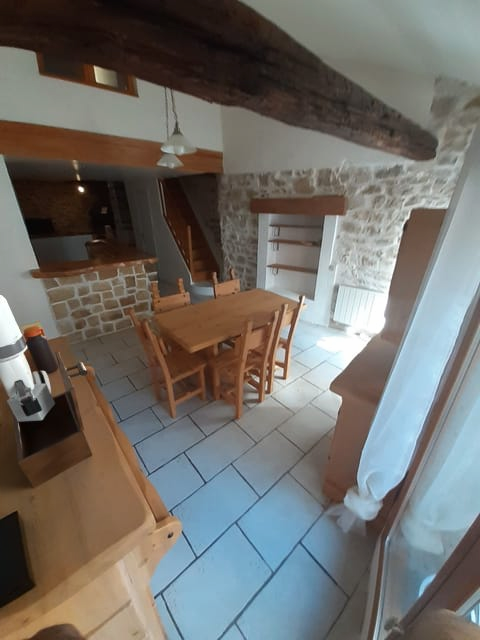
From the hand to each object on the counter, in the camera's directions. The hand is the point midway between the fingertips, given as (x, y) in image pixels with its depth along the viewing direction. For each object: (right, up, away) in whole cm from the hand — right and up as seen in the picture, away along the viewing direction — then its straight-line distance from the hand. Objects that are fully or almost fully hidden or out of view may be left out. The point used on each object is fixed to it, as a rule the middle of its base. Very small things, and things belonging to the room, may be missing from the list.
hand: (32, 402), depth 66 cm
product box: (0, -3, +2) cm, 4 cm away
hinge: (-19, -7, +27) cm, 34 cm away
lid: (+5, +2, +6) cm, 8 cm away
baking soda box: (-35, +4, +50) cm, 61 cm away
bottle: (-27, 0, +41) cm, 49 cm away
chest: (0, -16, +10) cm, 19 cm away
